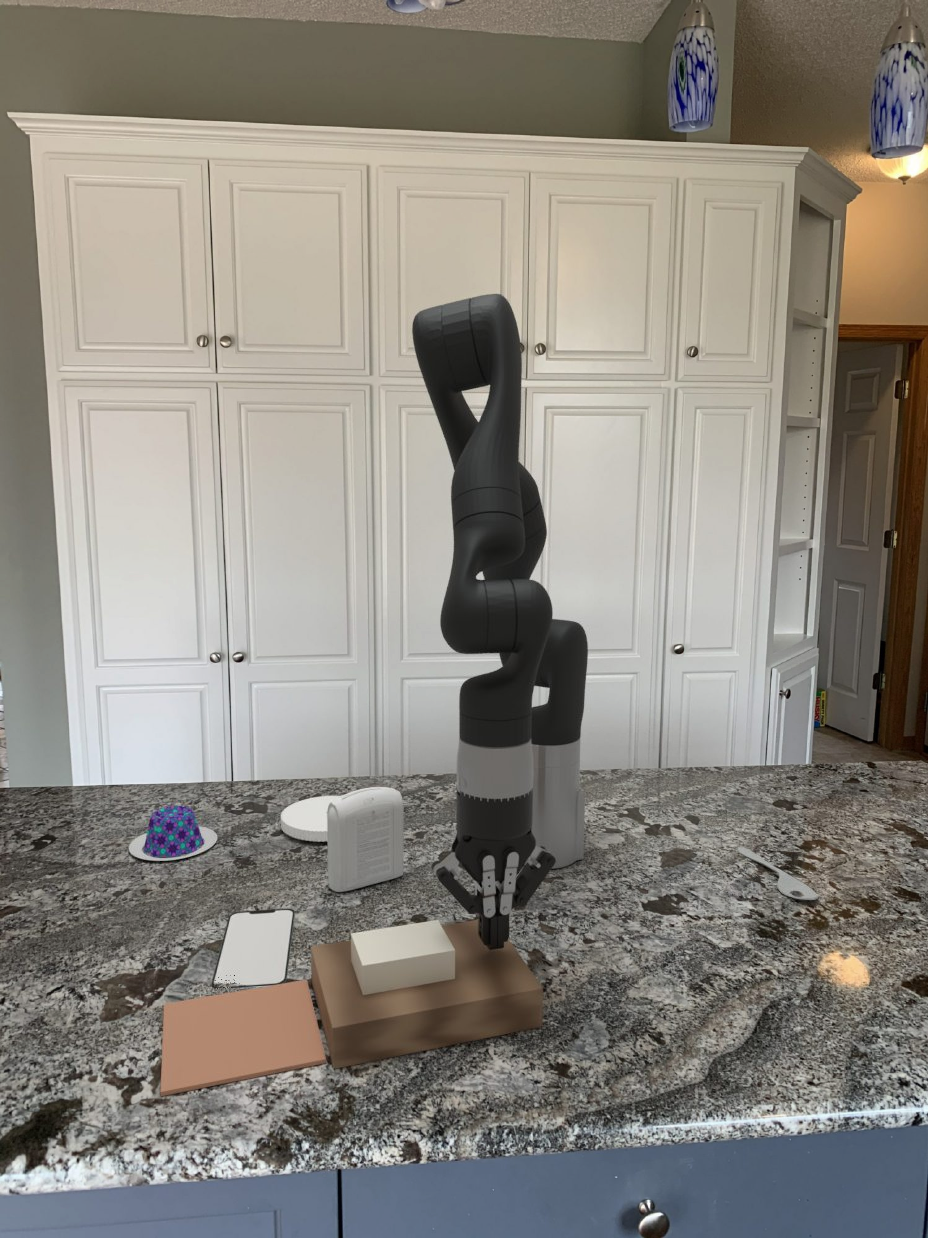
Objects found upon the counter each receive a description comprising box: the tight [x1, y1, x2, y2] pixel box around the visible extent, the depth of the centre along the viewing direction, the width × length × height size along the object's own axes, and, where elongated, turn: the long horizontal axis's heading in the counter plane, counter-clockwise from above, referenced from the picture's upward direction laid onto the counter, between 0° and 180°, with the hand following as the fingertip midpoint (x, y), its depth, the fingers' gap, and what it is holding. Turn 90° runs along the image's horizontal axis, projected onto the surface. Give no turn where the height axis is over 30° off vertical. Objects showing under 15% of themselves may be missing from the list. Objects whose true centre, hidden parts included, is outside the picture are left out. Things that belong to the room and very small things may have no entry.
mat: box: [160, 979, 327, 1097], centre depth 81 cm, size 14×13×1 cm
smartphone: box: [210, 908, 296, 990], centre depth 97 cm, size 8×1×16 cm
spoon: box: [737, 846, 819, 901], centre depth 116 cm, size 4×21×2 cm, turn 11°
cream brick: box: [350, 919, 455, 995], centre depth 85 cm, size 9×6×3 cm, turn 108°
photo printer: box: [327, 786, 405, 893], centre depth 111 cm, size 10×4×12 cm, turn 123°
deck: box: [310, 919, 544, 1070], centre depth 86 cm, size 20×14×4 cm
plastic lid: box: [280, 795, 342, 843], centre depth 130 cm, size 14×14×2 cm
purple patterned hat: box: [128, 805, 218, 862], centre depth 123 cm, size 12×12×5 cm
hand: (493, 945), depth 87 cm, fingers closed
